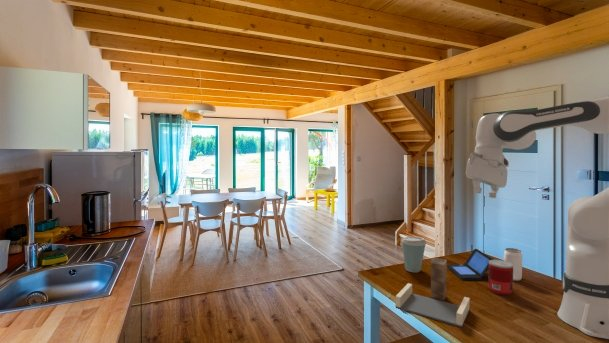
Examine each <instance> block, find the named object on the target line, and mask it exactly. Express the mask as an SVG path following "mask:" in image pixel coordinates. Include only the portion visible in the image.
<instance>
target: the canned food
mask: <svg viewBox="0 0 609 343" xmlns="http://www.w3.org/2000/svg"><path fill="white" fill-rule="evenodd" d="M487 280H488V283H487V287H488V289H489V291H490V292H493V293H495V294H498V295H503V296H508V295H511V294H512V293H513V289H514V288H513V286H514V280H513V264H512V263H510V262H507V261H504V259H503V260H502V259H493V260H490V261H489V270H488V279H487Z"/></svg>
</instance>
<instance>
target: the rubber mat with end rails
mask: <svg viewBox="0 0 609 343" xmlns="http://www.w3.org/2000/svg"><path fill="white" fill-rule="evenodd" d="M470 299H471V298H470V297H466V296H464V297H463V299H462V301H461V303H460V305H457V304H454V303H450V302H447V301H444V300H439V299H435V298H431V297H428V296H423V295H421V294H416V293H413V283H409V282H408V283H406V285H405V286H404V287H403V288H401V290H400V291H398V293H397V294H396V295H395V309H399V310H402V311H404V312H409V313H412V314H415V315H419V316H421V317H426V318H429V319H432V320H435V321H439V322H442V323H445V324H447V325H452V326H455V327H459V328H463V325H464V323H465V321H466V319H467V317H468V314H469V312H470Z"/></svg>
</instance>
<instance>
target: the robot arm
mask: <svg viewBox="0 0 609 343" xmlns="http://www.w3.org/2000/svg"><path fill="white" fill-rule="evenodd" d="M565 126H566V127H567V126H569V127H571V126H572V127H578V128H581V129H584V130H587V131H588V132H590V133H594V134H597V135H599V134H602V135H603V134H609V95H608V96H604V97H600V98H596V99H591V100H585V101H578V102H571V103H567V104H566V103H565V104H560V105H555V106H550V107H549V106H548V107H545V108H539V109H534V110H508V111H505V112H502V113H497V112H496V113H493V112H492V113H489V114H484V115H483V116H482V117H480V118H479V120H478V122H477V126H476V132H475V142H476V145H475V147H474V152H471V153H470V155H469V158H468V159H467V162H466V168H465V176H466V178H468V179H470V180H472V186H473V193H475V194H481V193H482V188H481V184H484V185H488V186H490V189H491V190H490V192H489V193H488V197H489V198H491V199H496V198H497V193H498V191H499V188H500V189H501V188H505V187H506V186H507V182H508V167H510V162H509V161H508V160H507V158H506V156H505V154H504V152H503V150H504V149H508V150H516V151H517V150H518V151H521V150H527V149H528V148H530V147H532V145H533V144H534V143H535V142H536V140H537V139H536V138H537V133H536V131H542V130H545V129H546V130H548V129H552V128H553V129H554V128H558V127H565ZM480 183H481V184H480ZM566 222H567V225H566V226H567V227H566V229H567V230H566V254H565V272H564V273H563V277H562V290H563V295H562V300H561V303H560V306H559V309H558V311H557V317H558V318H559V319H560V320H561V321H563V323H564V322H565V323H566V324H567V325H570V326H571V327H573V328H576V329H578V331H579V330H580V331H581V332H582V333H584V334H585V335H587V336H590V337H594V338H595V337H596V338H601V339H606V340H609V186H608V187H606V188H605V189H603V190H602V191H600V192H599V193H597V194H595V195H593V196H582V197H580V198H579V197H578V198H577V199H574V200H573V201H572V202H571V203H570V204H569V206H568V209H567V221H566Z"/></svg>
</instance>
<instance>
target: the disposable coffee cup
mask: <svg viewBox="0 0 609 343" xmlns="http://www.w3.org/2000/svg"><path fill="white" fill-rule="evenodd" d="M426 245H427V242H426V238H424V237H421V236H405V237H403V238H401V246H402V247H401V248H402V253H403V263H404V268H405V270H406V271H407V272H410V273H419V272H421V270H422V266H423V264H422V263H423V260H424V254H425V248H426Z"/></svg>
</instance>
